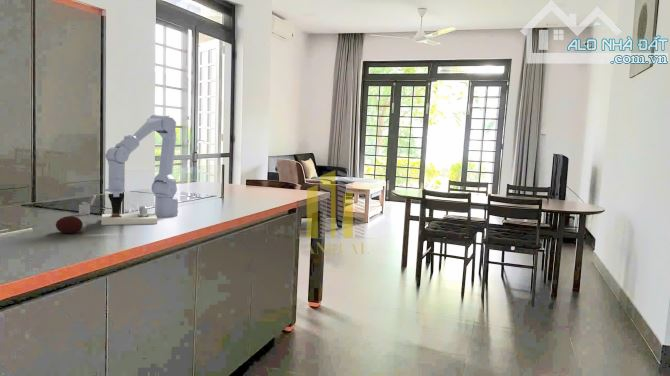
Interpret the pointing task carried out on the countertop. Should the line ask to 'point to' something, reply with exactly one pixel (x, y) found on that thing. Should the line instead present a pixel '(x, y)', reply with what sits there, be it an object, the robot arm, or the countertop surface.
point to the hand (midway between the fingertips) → (116, 212)
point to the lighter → (86, 206)
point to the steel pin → (143, 211)
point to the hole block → (128, 219)
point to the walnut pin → (115, 214)
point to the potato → (69, 224)
